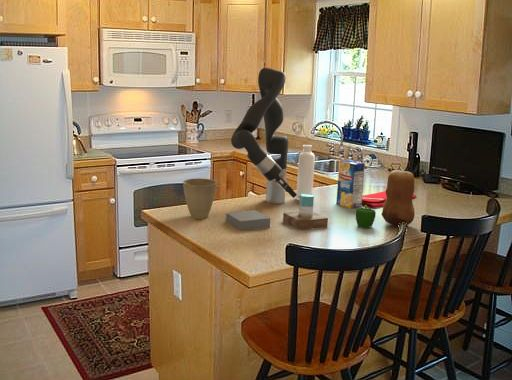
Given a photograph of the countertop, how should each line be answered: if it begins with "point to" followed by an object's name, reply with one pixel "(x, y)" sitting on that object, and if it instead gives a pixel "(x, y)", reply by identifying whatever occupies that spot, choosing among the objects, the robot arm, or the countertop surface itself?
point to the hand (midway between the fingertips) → (293, 194)
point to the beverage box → (350, 183)
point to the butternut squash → (399, 198)
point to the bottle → (305, 171)
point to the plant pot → (199, 196)
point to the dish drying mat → (375, 199)
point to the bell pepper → (365, 217)
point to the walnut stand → (305, 220)
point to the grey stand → (247, 220)
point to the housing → (306, 205)
